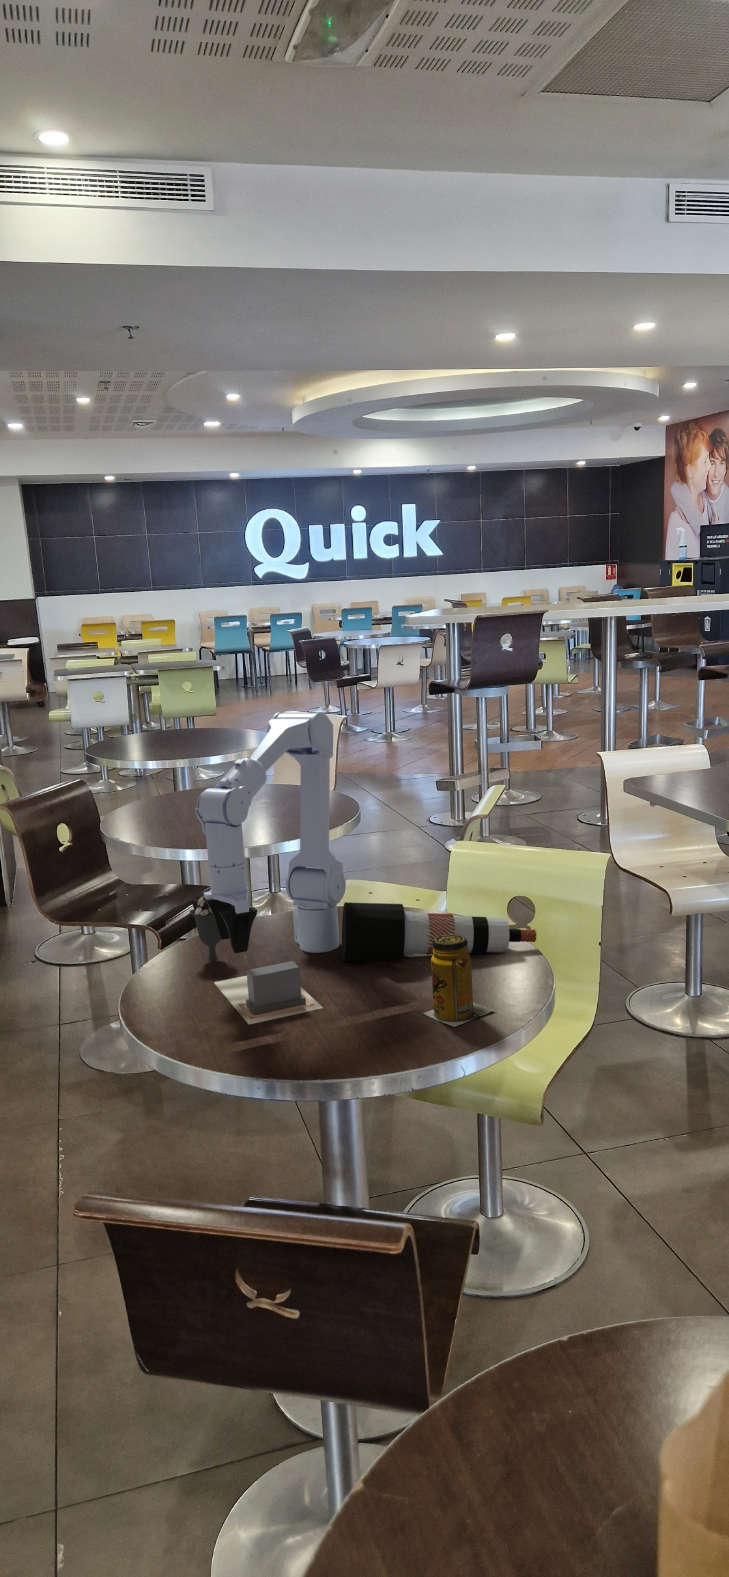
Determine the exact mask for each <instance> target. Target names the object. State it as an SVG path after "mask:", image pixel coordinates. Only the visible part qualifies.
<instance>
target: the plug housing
mask: <svg viewBox="0 0 729 1577" xmlns="http://www.w3.org/2000/svg"><path fill="white" fill-rule="evenodd" d="M246 976H247V984H248V996H249V1001H250V1002H251V1004H252V1005H253V1006H254V1007H260V1006H264V1005H269V1004H273V1003H278V1002H283V1001H287V1000H292V999H297V998H301V987H302V986H301V974H300V967H299V966H298V964H296V963H295V962H294V961H293V960H290V961H287V962H281V963H276V964H271V965H267V966H260V967H257V968H252V969H246Z"/></svg>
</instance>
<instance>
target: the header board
mask: <svg viewBox="0 0 729 1577" xmlns="http://www.w3.org/2000/svg"><path fill="white" fill-rule="evenodd" d="M213 984H214V985H215V986H216V987H217V988H218V990H219V991H220V992H221V993H222V994H223V995H224V997H225V998H226V999H227V1000H228V1002H229V1003H230V1004H231V1005H232V1007H233V1008H234V1009H235V1010H236V1012H238V1013H239V1015H240V1016H241V1017H242V1018H243V1020H244V1021H245V1022H246V1023H247V1024H248V1025H252V1024H257V1023H262V1022H266V1021H270V1020H271V1021H272V1020H276V1019H280V1018H284V1017H288V1016H289V1017H290V1016H293V1015H299V1014H302V1013H308V1012H311V1011H315V1010H316V1011H317V1010H321V1009H324V1007H323V1006H322V1005H321V1004H320V1003H319V1002H318V1001H317V1000H316V999H314V998H313V997H312V996H311V995H310V994H309V993H308V992H307V991H306V990H305V989H304V988H303V987H302V986H301V998H297V999H292V1000H287V1001H283V1002H278V1003H273V1004H269V1005H264V1006H260V1007H254V1006H253V1005H252V1004H251V1002H250V1001H249V996H248V984H247V975H243V976H238V977H232V978H229V979H228V978H227V979H224V980H223V979H222V980H218V981H214V982H213Z"/></svg>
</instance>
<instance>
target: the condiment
mask: <svg viewBox="0 0 729 1577" xmlns="http://www.w3.org/2000/svg"><path fill="white" fill-rule="evenodd" d="M467 944H468V941H467V939H466V938H465V937H463V936H460V935H442V936H439V937H436V938H435V939H434V940H433V954H432V956H431V958H430V967H431V968H430V969H431V983H432V984H431V986H432V987H431V988H432V1002H433V1005H432V1006H433V1008H432V1009H430V1010H428V1011H425V1012H422V1014H423V1015H425V1016H427V1017H429V1018H431V1019H434V1020H435V1021H438V1022H441V1023H442V1024H447V1026H448V1025H449V1026H451V1027H458V1026H460V1025H463V1024H466V1023H468V1022H471V1021H473V1020H475V1019H477V1018H478V1017H483V1016H485V1015H487V1014H489V1013H491V1012H494V1011H495V1009H493V1008H489V1007H486V1006H483V1005H481V1004H479V1003H478V1004H477V1003H476V1002H474V994H473V992H474V991H473V990H474V989H473V974H472V973H473V972H472V957H471V955H470V953H468V946H467ZM474 1015H475V1016H474Z"/></svg>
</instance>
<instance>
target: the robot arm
mask: <svg viewBox="0 0 729 1577" xmlns="http://www.w3.org/2000/svg"><path fill="white" fill-rule="evenodd" d="M266 730H267V731H266V735H265V736H264V737H263V739H262V740H261V741H260V743H259V744H258V746H257V747H256V749H255V750H254V751H253V753H252V754H251V755H250V757H242V758H240V759H236V760H235V761H234V762H233V766H232V767H231V768H230V769H229V771H227V773H225V775H224V776H223V777H222V778H221V779H220V780H219V782H218V783H217V784H216V785H215V787H209V788H206V789H205V790H204V791H203V792H201V793H200V794H199V796H198V799H197V800H196V801H197V802H196V808H195V810H194V811H195V816H196V818H197V820H198V821H199V822H200V825H201V829H202V830H201V831H202V833H203V835H204V836H205V838H206V839H205V841H206V850H207V861H208V863H207V864H208V873H209V874H208V875H209V883H210V885H209V886H210V889H209V890H208V891H204V892H203V896H204V897H205V901H206V903H207V904H208V906H209V908H210V910H211V912H212V914H213V917H214V920H215V923H216V926H217V930H218V933H219V936H220V938H221V940H220V941H222V940H223V941H224V940H228V939H229V942H230V946H231V949H232V952H233V953H234V954H241V953H246V952H248V949H249V945H250V944H249V943H250V938H251V937H250V936H251V931H252V926H253V924H254V922H255V919H256V916H257V915H258V909H257V908H256V907H255V906H253V907H250V905H249V904H250V903H249V899H248V897H249V887H248V884H247V883H248V882H247V874H246V873H247V871H246V860H245V850H244V849H245V848H244V847H245V846H244V836H243V834H244V833H243V823H245V821H246V820H247V817H248V815H249V814H248V813H249V809H250V806H251V805H252V802H253V801H252V800H253V799H254V797H255V796H256V795H257V793H258V792H260V790H261V789H262V788H263V786H265V784H266V782H267V779H268V778H267V771H268V770H269V769H271V767H272V766H274V764H276V762H277V761H279V759H280V758H282V756H283V755H285V754H286V755H289V756H290V757H293V759H294V760H296V762H298V764H299V765H300V766H299V767H300V793H299V794H300V799H299V800H300V804H299V805H300V812H299V814H300V818H299V819H300V820H299V821H300V822H299V823H300V824H299V826H300V827H299V844H300V845H299V852H298V853H297V854H296V855H294V856H293V857H292V858H291V859H289V861H288V872H287V875H286V877H285V878H286V879H285V890H286V894H287V896H288V898H289V899H290V900H292V901H293V906H294V908H293V911H292V920H293V931H294V932H293V934H294V942H295V943H297V944H298V945H299V948H300V950H302V951H303V952H306V953H314V954H315V953H317V954H319V953H327V952H331V951H334V950H336V949H337V948H339V946H340V934H339V933H340V932H339V917H338V904H340V903H341V901H342V899H343V897H344V895H345V894H346V889H347V888H346V886H347V885H346V884H347V883H346V879H345V875H344V869H343V868H344V867H343V865H344V864H343V862H342V861H341V860H340V858H338V857H337V856H336V855H335V854H334V853H332V852H331V851H330V782H331V781H330V780H331V779H330V774H331V773H330V772H331V768H330V767H331V764H330V763H331V762H330V761H331V760H330V759H332V758H333V757H334V724H333V722H332V721H331V720H330V718H329V717H328V715H327V714H326V713H325V712H322V711H317V712H283V711H278V712H276V713H275V714H273V716H272V718H271V719H270V720H268V722H267V725H266Z"/></svg>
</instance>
